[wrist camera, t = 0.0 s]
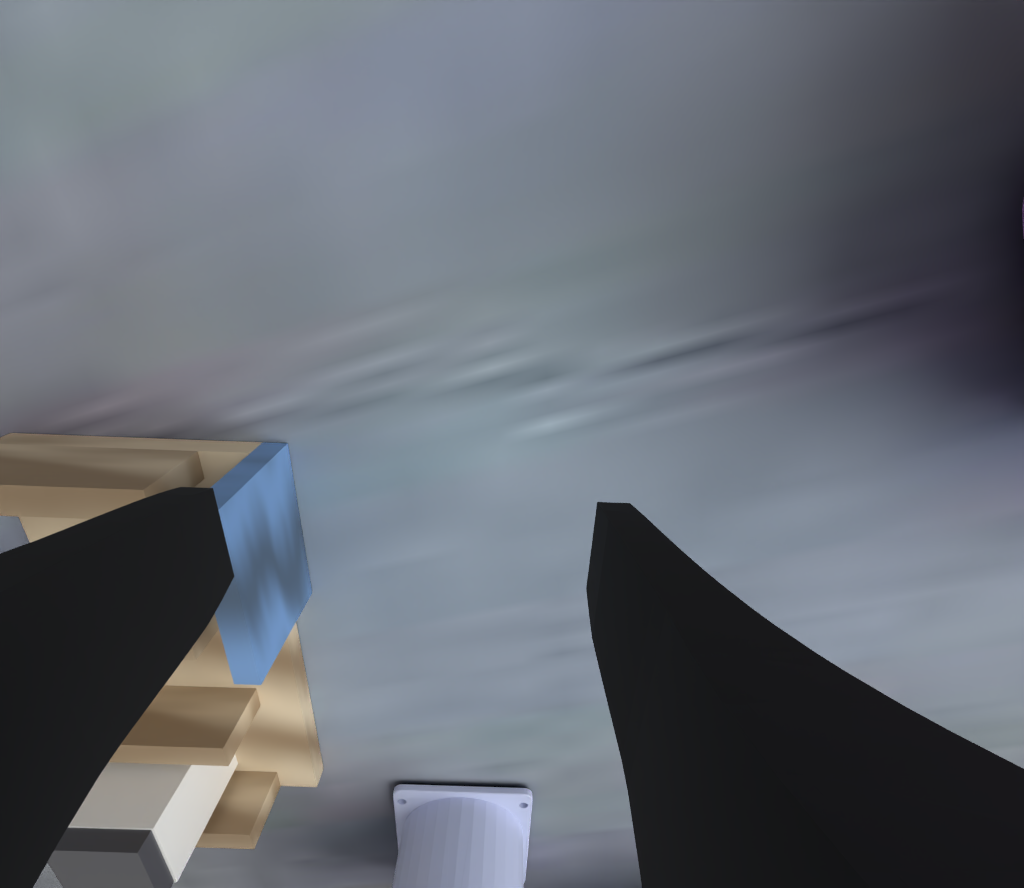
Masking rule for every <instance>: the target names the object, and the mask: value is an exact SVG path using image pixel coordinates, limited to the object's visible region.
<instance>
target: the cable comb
mask: <svg viewBox="0 0 1024 888" xmlns="http://www.w3.org/2000/svg"><path fill="white" fill-rule="evenodd" d="M178 487H197V488H213V490H214V494H215V498H216V502H217V506H218V511H219V515H220V519H221V523H222V527H223V531H224V535H225V540H226V544H227V548H228V552H229V556H230V560H231V564H232V568H233V573H234V578H233V580H232V582H231V584H230V586H229V588H228V590H227V592H226V594H225V595H224V597H223V599H222V601H221V603H220V605H219V607H218V608H217V610H216V612H215V614H214V615H213V617H212V619H211V621H210V622H209V624H208V626H207V627H206V629H205V630H204V631H203V633H202V634H201V636H200V637H199V638H198V640H197V641H196V643H195V644H194V645H193V647H192V648H191V650H190V651H189V652H188V654H187V655H186V656H185V658H184V659H183V661H182V662H181V663H180V665H179V666H178V667H177V669H176V670H175V671H174V673H173V674H172V676H171V677H170V678H169V680H168V681H167V682H166V684H165V685H164V686H163V688H162V689H161V690H160V692H159V693H158V694H157V696H156V697H155V699H154V700H153V701H152V703H151V704H150V705H149V707H148V708H147V709H146V711H145V712H144V713H143V715H142V716H141V717H140V719H139V720H138V722H137V723H136V724H135V726H134V727H133V728H132V730H131V731H130V732H129V734H128V735H127V736H126V738H125V739H124V740H123V742H122V743H121V745H120V746H119V748H118V749H117V750H116V752H115V753H114V755H113V756H112V758H111V759H110V761H109V762H113V763H145V764H176V765H208V766H229V764H230V763H231V761H232V759H233V757H234V755H236V758H237V762H238V765H237V767H236V769H235V771H234V773H233V774H232V776H231V778H230V780H229V782H228V784H227V786H226V788H225V790H224V792H223V794H222V796H221V798H220V800H219V802H218V804H217V806H216V807H215V809H214V811H213V813H212V815H211V817H210V819H209V821H208V823H207V825H206V827H205V829H204V831H203V833H202V835H201V837H200V839H199V841H198V842H197V844H196V846H195V847H202V848H236V849H254V848H255V846H256V844H257V841H258V839H259V836H260V834H261V832H262V829H263V827H264V824H265V822H266V820H267V817H268V815H269V813H270V810H271V808H272V805H273V803H274V801H275V798H276V796H277V793H278V791H279V789H280V786H301V787H317V786H318V783H319V780H320V777H321V774H322V771H323V763H322V758H321V753H320V747H319V742H318V737H317V731H316V726H315V721H314V715H313V710H312V704H311V699H310V694H309V688H308V683H307V678H306V672H305V667H304V662H303V656H302V651H301V645H300V640H299V635H298V629H297V624H296V621H297V619H298V617H299V616H300V614H301V612H302V610H303V608H304V607H305V605H306V603H307V601H308V599H309V597H310V596H311V594H312V589H311V583H310V577H309V570H308V564H307V558H306V552H305V546H304V540H303V534H302V528H301V522H300V515H299V509H298V503H297V497H296V491H295V485H294V479H293V473H292V467H291V460H290V454H289V448H288V443H265V442H238V441H212V440H185V439H158V438H132V437H105V436H78V435H52V434H25V433H10V434H7V435H5V436H2V437H0V516H18V517H19V519H20V521H21V523H22V526H23V528H24V530H25V533H26V535H27V537H28V539H29V542H30V543H31V542H33V541H36V540H39V539H41V538H44V537H46V536H49V535H51V534H54V533H56V532H59V531H61V530H64V529H66V528H69V527H71V526H74V525H77V524H79V523H82V522H84V521H87V520H89V519H92V518H94V517H97V516H99V515H102V514H104V513H107V512H109V511H112V510H115V509H117V508H120V507H122V506H125V505H128V504H130V503H133V502H135V501H138V500H141V499H144V498H146V497H149V496H152V495H155V494H158V493H161V492H164V491H167V490H171V489H175V488H178Z"/></svg>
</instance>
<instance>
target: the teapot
mask: <svg viewBox="0 0 1024 888" xmlns="http://www.w3.org/2000/svg"><path fill="white" fill-rule="evenodd" d="M1022 218H1023V237H1024V199H1023V207H1022Z"/></svg>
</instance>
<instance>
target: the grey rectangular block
mask: <svg viewBox="0 0 1024 888" xmlns="http://www.w3.org/2000/svg"><path fill="white" fill-rule="evenodd" d="M237 765H238V762H237V758H236V755H234V757H233V759H232V761H231V763H230V764H229V766H208V765H176V764H145V763H113V762H108V764H107V765H106V767H105V768H104V769H103V771H102V772H101V774H100V775H99V777H98V779H97V780H96V782H95V784H94V785H93V787H92V789H91V790H90V792H89V793H88V795H87V797H86V798H85V800H84V802H83V803H82V805H81V807H80V808H79V810H78V811H77V813H76V815H75V816H74V818H73V820H72V821H71V823H70V825H69V826H68V828H67V829H66V831H65V833H64V834H63V836H62V838H61V839H60V841H59V843H58V844H57V846H56V848H55V849H54V851H53V853H52V855H51V856H50V858H49V860H48V864H49V865H50V867H51V869H52V870H53V872H54V873H55V875H56V877H57V878H58V880H59V881H60V883H61V885H62V886H63V888H171V886H172V884H173V882H177V881H178V879H179V877H180V876H181V874H182V872H183V870H184V868H185V866H186V864H187V862H188V860H189V858H190V856H191V854H192V852H193V850H194V848H195V846H196V844H197V842H198V841H199V839H200V837H201V835H202V833H203V831H204V829H205V827H206V825H207V823H208V821H209V819H210V817H211V815H212V813H213V811H214V809H215V807H216V806H217V804H218V802H219V800H220V798H221V796H222V794H223V792H224V790H225V788H226V786H227V784H228V782H229V780H230V778H231V776H232V774H233V773H234V771H235V769H236V767H237Z"/></svg>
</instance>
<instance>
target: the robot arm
mask: <svg viewBox="0 0 1024 888" xmlns="http://www.w3.org/2000/svg"><path fill="white" fill-rule="evenodd" d="M233 578H234V573H233V568H232V564H231V560H230V556H229V552H228V548H227V544H226V540H225V535H224V531H223V527H222V523H221V519H220V515H219V511H218V506H217V502H216V498H215V494H214V490H213V488H197V487H178V488H175V489H171V490H167V491H164V492H161V493H158V494H155V495H152V496H149V497H146V498H144V499H141V500H138V501H135V502H133V503H130V504H128V505H125V506H122V507H120V508H117V509H115V510H112V511H109V512H107V513H104V514H102V515H99V516H97V517H94V518H92V519H89V520H87V521H84V522H82V523H79V524H77V525H74V526H71V527H69V528H66V529H64V530H61V531H59V532H56V533H54V534H51V535H49V536H46V537H44V538H41V539H39V540H36V541H33V542H31V543H28V544H25V545H23V546H20V547H17V548H15V549H12V550H9V551H7V552H4V553H1V554H0V888H33V886H34V884H35V883H36V881H37V879H38V877H39V876H40V874H41V872H42V870H43V869H44V867H45V865H46V863H47V862H48V860H49V858H50V856H51V855H52V853H53V851H54V849H55V848H56V846H57V844H58V843H59V841H60V839H61V838H62V836H63V834H64V833H65V831H66V829H67V828H68V826H69V825H70V823H71V821H72V820H73V818H74V816H75V815H76V813H77V811H78V810H79V808H80V807H81V805H82V803H83V802H84V800H85V798H86V797H87V795H88V793H89V792H90V790H91V789H92V787H93V785H94V784H95V782H96V780H97V779H98V777H99V775H100V774H101V772H102V771H103V769H104V768H105V767H106V765H107V764H108V762H109V761H110V759H111V758H112V756H113V755H114V753H115V752H116V750H117V749H118V748H119V746H120V745H121V743H122V742H123V740H124V739H125V738H126V736H127V735H128V734H129V732H130V731H131V730H132V728H133V727H134V726H135V724H136V723H137V722H138V720H139V719H140V717H141V716H142V715H143V713H144V712H145V711H146V709H147V708H148V707H149V705H150V704H151V703H152V701H153V700H154V699H155V697H156V696H157V694H158V693H159V692H160V690H161V689H162V688H163V686H164V685H165V684H166V682H167V681H168V680H169V678H170V677H171V676H172V674H173V673H174V671H175V670H176V669H177V667H178V666H179V665H180V663H181V662H182V661H183V659H184V658H185V656H186V655H187V654H188V652H189V651H190V650H191V648H192V647H193V645H194V644H195V643H196V641H197V640H198V638H199V637H200V636H201V634H202V633H203V631H204V630H205V629H206V627H207V626H208V624H209V622H210V621H211V619H212V617H213V615H214V614H215V612H216V610H217V608H218V607H219V605H220V603H221V601H222V599H223V597H224V595H225V594H226V592H227V590H228V588H229V586H230V584H231V582H232V580H233ZM586 589H587V598H588V607H589V616H590V624H591V632H592V639H593V643H594V648H595V652H596V656H597V660H598V665H599V669H600V673H601V677H602V681H603V685H604V689H605V694H606V698H607V702H608V706H609V710H610V714H611V718H612V722H613V726H614V730H615V734H616V739H617V743H618V747H619V751H620V755H621V759H622V764H623V769H624V774H625V779H626V784H627V789H628V795H629V801H630V808H631V815H632V821H633V828H634V834H635V841H636V848H637V854H638V861H639V868H640V875H641V882H642V888H1024V769H1023V768H1021V767H1019V766H1017V765H1015V764H1013V763H1011V762H1009V761H1007V760H1005V759H1003V758H1001V757H999V756H997V755H996V754H994V753H992V752H990V751H988V750H986V749H984V748H982V747H980V746H978V745H976V744H974V743H972V742H970V741H968V740H966V739H964V738H962V737H961V736H959V735H957V734H955V733H953V732H951V731H949V730H947V729H945V728H943V727H942V726H940V725H938V724H936V723H934V722H932V721H931V720H929V719H927V718H925V717H923V716H921V715H920V714H918V713H916V712H914V711H912V710H910V709H909V708H907V707H905V706H903V705H902V704H900V703H898V702H896V701H895V700H893V699H891V698H890V697H888V696H886V695H884V694H883V693H881V692H879V691H878V690H876V689H874V688H873V687H871V686H869V685H867V684H866V683H864V682H862V681H861V680H859V679H857V678H856V677H854V676H852V675H850V674H849V673H847V672H845V671H844V670H842V669H841V668H839V667H837V666H836V665H834V664H833V663H831V662H829V661H828V660H826V659H825V658H823V657H821V656H820V655H818V654H817V653H815V652H814V651H812V650H811V649H809V648H808V647H806V646H805V645H803V644H802V643H800V642H799V641H797V640H796V639H795V638H793V637H792V636H790V635H789V634H787V633H786V632H784V631H783V630H781V629H780V628H778V627H777V626H775V625H774V624H772V623H771V622H770V621H768V620H767V619H766V618H764V617H763V616H761V615H760V614H759V613H757V612H756V611H755V610H753V609H752V608H751V607H749V606H748V605H747V604H745V603H744V602H743V601H742V600H740V599H739V598H738V597H737V596H735V595H734V594H733V593H731V592H730V591H729V590H728V589H726V588H725V587H724V586H723V585H721V584H720V583H719V582H718V581H716V580H715V579H714V578H713V577H712V576H710V575H709V574H708V573H707V572H706V571H704V570H703V569H702V568H701V567H700V566H699V565H697V564H696V563H695V562H694V561H693V560H692V559H691V558H689V557H688V556H687V555H686V554H685V553H684V552H683V551H681V550H680V549H679V548H678V547H677V546H676V545H675V544H674V543H673V542H672V541H670V540H669V539H668V538H667V537H666V536H665V535H664V534H663V533H662V532H661V531H660V530H659V529H658V528H656V527H655V526H654V525H653V524H652V523H651V522H650V521H649V520H648V519H647V518H646V517H645V516H644V515H643V514H641V513H640V512H639V511H638V510H637V509H636V508H635V507H634V506H632V505H631V504H630V503H607V502H597V509H596V517H595V525H594V533H593V541H592V549H591V557H590V564H589V572H588V580H587V588H586ZM532 800H533V798H532V792H531V790H529V789H527V788H509V787H477V786H445V785H414V784H399V785H397V786H396V787H395V788H394V792H393V802H394V812H395V822H396V832H397V842H398V858H397V863H396V868H395V874H394V879H393V884H392V888H523V883H524V882H525V878H526V867H527V856H528V845H529V833H530V822H531V811H532Z"/></svg>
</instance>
